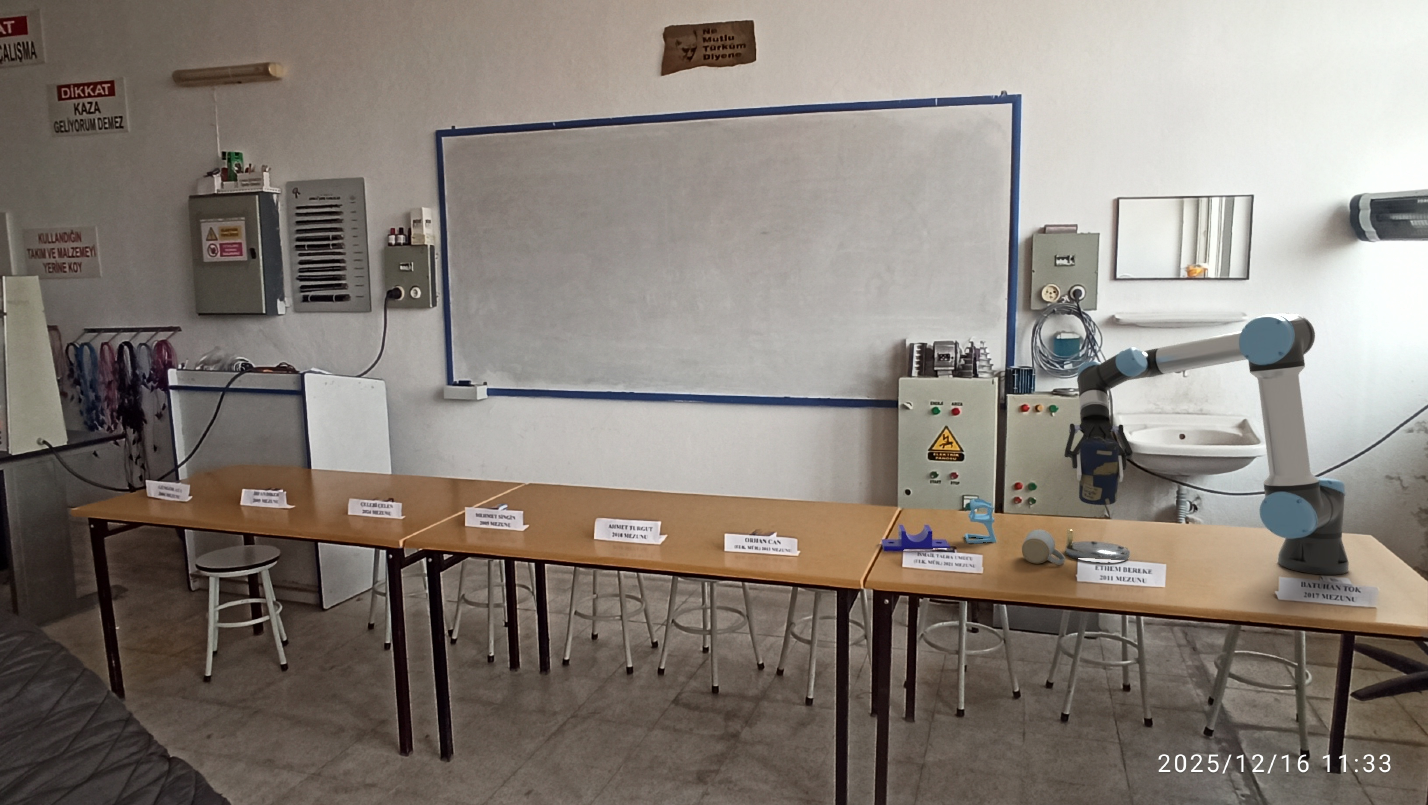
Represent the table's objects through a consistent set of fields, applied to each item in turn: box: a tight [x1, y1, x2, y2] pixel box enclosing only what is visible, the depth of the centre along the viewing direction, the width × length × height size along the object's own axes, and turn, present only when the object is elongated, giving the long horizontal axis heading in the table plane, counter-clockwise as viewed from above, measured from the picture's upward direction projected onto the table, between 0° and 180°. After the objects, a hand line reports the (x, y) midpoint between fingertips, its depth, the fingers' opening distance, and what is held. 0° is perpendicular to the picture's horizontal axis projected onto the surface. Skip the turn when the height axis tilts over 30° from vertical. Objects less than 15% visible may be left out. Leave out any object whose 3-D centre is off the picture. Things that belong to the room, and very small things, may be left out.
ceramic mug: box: [1021, 528, 1066, 566], centre depth 250 cm, size 11×8×8 cm
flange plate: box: [1065, 528, 1131, 561], centre depth 255 cm, size 16×16×6 cm
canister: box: [1078, 437, 1120, 506], centre depth 253 cm, size 10×10×18 cm
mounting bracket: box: [880, 524, 951, 552], centre depth 266 cm, size 18×7×6 cm, turn 85°
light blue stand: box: [964, 498, 997, 544], centre depth 271 cm, size 8×8×12 cm
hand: (1100, 478), depth 250 cm, fingers closed on canister, 9 cm apart
